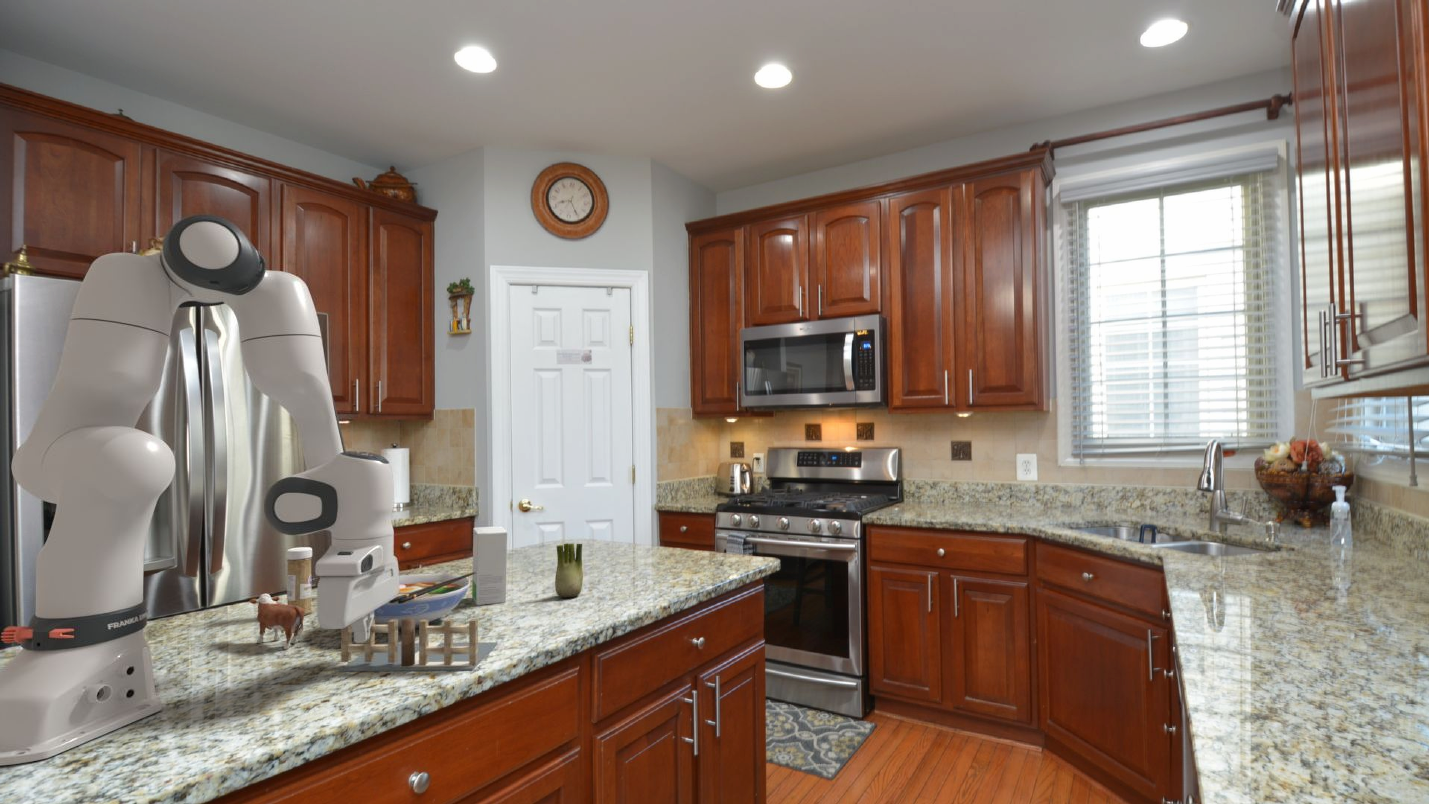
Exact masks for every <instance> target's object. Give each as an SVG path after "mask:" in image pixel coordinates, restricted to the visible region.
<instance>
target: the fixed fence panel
mask: <svg viewBox="0 0 1429 804" xmlns="http://www.w3.org/2000/svg"><path fill="white" fill-rule="evenodd" d="M468 624H469V625H454V619H453V618H447V619H445V620H444V622H443V625H429V623H428V619H422V620H421V621H419V627H418V643H419V665H426V664H428V655H440V654H444V665H451V664H452V663H453V654H469V665H476V664H477V663H478V643H479V619H478V618H471V619H469V621H468ZM435 634H437V635H441V634H443V635H444V636H443V637H444V638H443V643H444V646H433V647H428V643H429V635H435ZM455 634H468V643H469V646H453V643H454V635H455Z"/></svg>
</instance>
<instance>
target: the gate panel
mask: <svg viewBox="0 0 1429 804" xmlns="http://www.w3.org/2000/svg"><path fill="white" fill-rule="evenodd" d="M340 630H341V631H340V633H341V634H340V639H341V640H340V643H341V644H340V662H341V663H349V661H350V662H351V661H352V653H365V662H372V661H373V660H375V653H388V663H394V662H396V661H397V660H398V643H399V629H398V620H397V619H392V620H390V621H388V625H380V624H375V619H373V621H372V625H371V628H370V638H369V639H368V640H367V641H366V642H364V643H355V644H354V643H352V634H353V633H354V631H353V629H352V626H351V624H350V625H349V626H347V627H345V628H343V629H340ZM376 633H387V636H388V637H387V640H388V641H387V644H388V645H378V644H379V643H376V641H375V639H376ZM375 643H376V644H375Z"/></svg>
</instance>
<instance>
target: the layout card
mask: <svg viewBox="0 0 1429 804" xmlns="http://www.w3.org/2000/svg"><path fill="white" fill-rule="evenodd" d="M377 644H378V645H388V643H377ZM497 645H498V642H496V641H495V642H494V641H493V642H491V641H490V642H489V641H488V642H487V641H486V642H485V641H484V642H478V663H477V664H476V665H469V654H453V663H452V664H451V665H444V654H440V655H428V664H426V665H419V642H418V643H417V642H415V664H414V665H412V666H401V643H400V642H398V660H397V661H396V662H394V663H388V653H375V660H373V661H372V662H365V652H362V654H360V655H359V656H357V657H356V658H354V659H353V660H350V662H347V664H345V665H344V666H342V667H341V668H339V670H338V672H339V673H340V672H347V673H348V672H349V673H351V672H411V671H412V672H414V671H415V672H418V671H419V672H422V671H424V672H426V671H427V672H429V671H434V672H435V671H437V672H438V671H440V672H441V671H474V669H475V668H477V666H478V665H479V664H480V663H481V662H482V661H483V660H484V659H485V657H486V656H488V655H489V653H491V652H492V650H493V649H494V648H495V647H496V646H497ZM433 646H444V642H428V647H433ZM453 646H469V642H453Z"/></svg>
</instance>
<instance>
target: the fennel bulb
mask: <svg viewBox="0 0 1429 804" xmlns="http://www.w3.org/2000/svg"><path fill="white" fill-rule="evenodd" d="M575 549H576V550H575ZM582 555H583V543H576V548H575V543H564V544H557V545H556V557H557V558H556V559H557V560H556V561H557V567H556V571H555V580H554V588H555V589H554V591H555V592H556V595H557V596H558V597H560V598H564V599H565V598H574V597H577V596H580V594H581V591H582V588H583V580H584V572H583V571H584V570H583V556H582Z"/></svg>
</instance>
